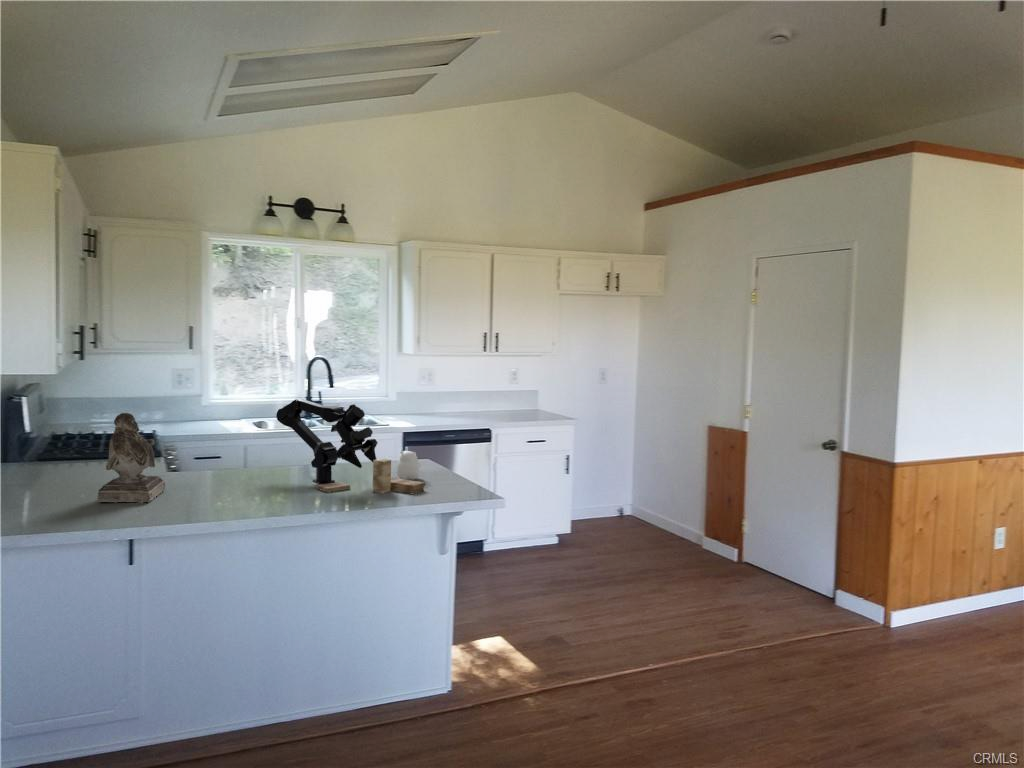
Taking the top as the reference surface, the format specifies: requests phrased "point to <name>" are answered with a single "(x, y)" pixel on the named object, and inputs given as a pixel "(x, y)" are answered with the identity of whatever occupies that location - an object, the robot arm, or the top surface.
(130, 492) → the sculpture
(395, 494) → the top surface
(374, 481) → the upright offcut
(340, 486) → the loose offcut
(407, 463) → the figurine
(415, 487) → the plank stack
